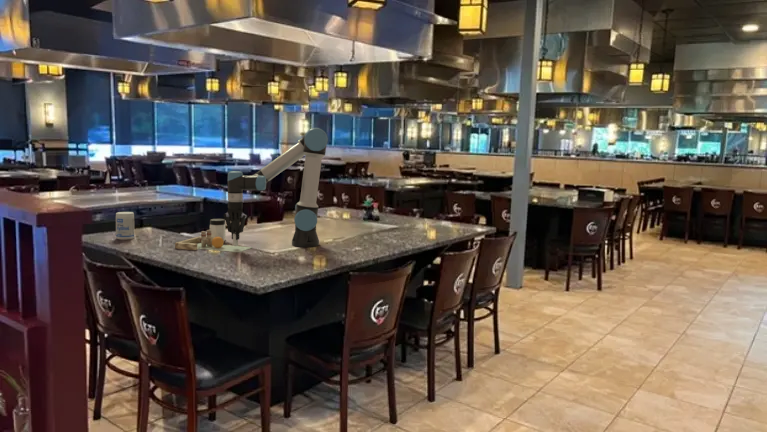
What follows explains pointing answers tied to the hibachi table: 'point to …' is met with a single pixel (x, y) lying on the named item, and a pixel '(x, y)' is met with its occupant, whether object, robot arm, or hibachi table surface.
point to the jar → (218, 228)
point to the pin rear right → (209, 235)
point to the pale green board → (224, 248)
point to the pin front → (206, 241)
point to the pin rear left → (203, 238)
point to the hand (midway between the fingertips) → (235, 245)
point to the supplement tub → (124, 225)
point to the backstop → (189, 244)
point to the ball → (217, 242)
